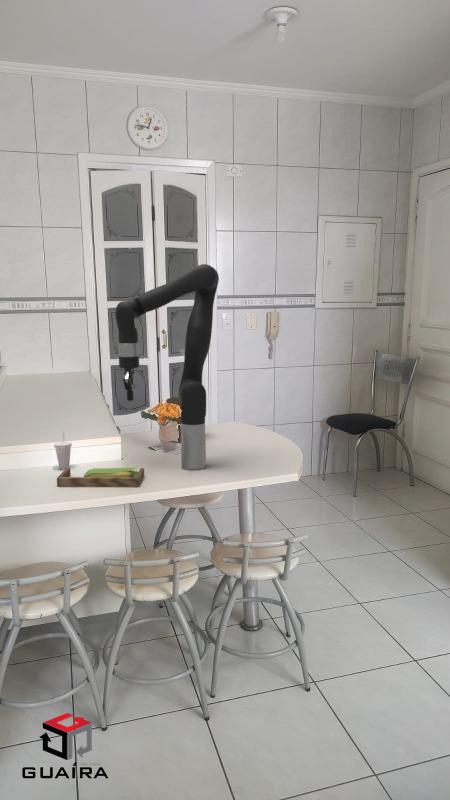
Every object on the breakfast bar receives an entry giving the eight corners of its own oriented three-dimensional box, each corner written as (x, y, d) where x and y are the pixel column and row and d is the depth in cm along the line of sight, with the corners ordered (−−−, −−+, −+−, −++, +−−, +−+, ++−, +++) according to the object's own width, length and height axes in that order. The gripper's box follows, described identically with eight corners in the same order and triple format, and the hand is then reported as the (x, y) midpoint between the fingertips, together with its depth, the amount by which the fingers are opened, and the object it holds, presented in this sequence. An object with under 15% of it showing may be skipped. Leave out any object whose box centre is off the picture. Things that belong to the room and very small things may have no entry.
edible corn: (83, 469, 197) (83, 469, 193) (140, 465, 202) (141, 465, 198) (83, 483, 196) (84, 484, 192) (140, 480, 202) (142, 480, 197)
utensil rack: (144, 476, 202) (143, 468, 201) (138, 486, 191) (138, 478, 190) (67, 475, 202) (66, 467, 202) (57, 486, 191) (56, 478, 191)
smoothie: (76, 466, 213) (74, 431, 211) (65, 471, 208) (63, 434, 205) (63, 464, 216) (61, 429, 213) (51, 469, 210) (49, 433, 208)
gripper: (135, 356, 203) (137, 403, 206) (141, 353, 216) (143, 397, 219) (115, 356, 203) (117, 403, 206) (122, 353, 216) (124, 397, 219)
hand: (130, 400), depth 213 cm, fingers closed
